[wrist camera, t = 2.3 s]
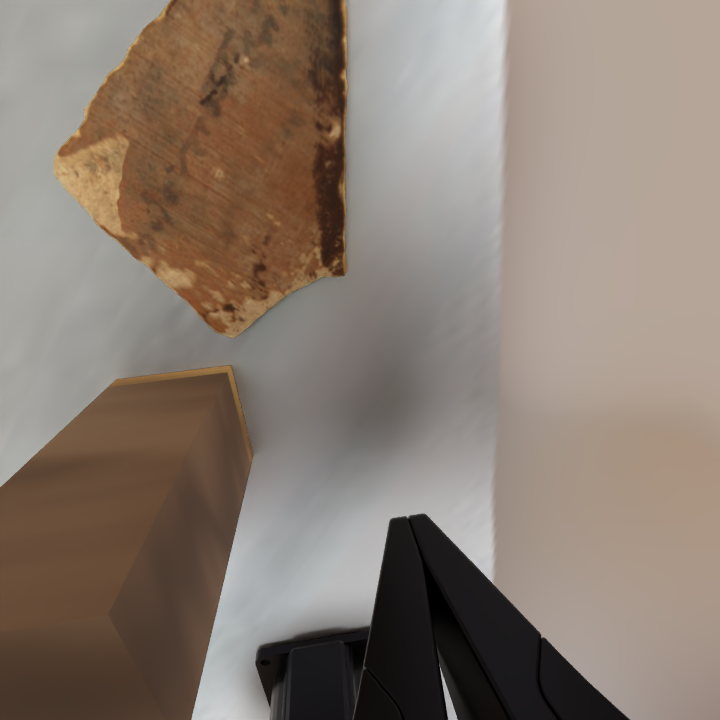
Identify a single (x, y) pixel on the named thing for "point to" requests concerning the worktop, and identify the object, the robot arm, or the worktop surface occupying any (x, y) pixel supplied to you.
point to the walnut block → (121, 551)
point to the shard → (223, 152)
